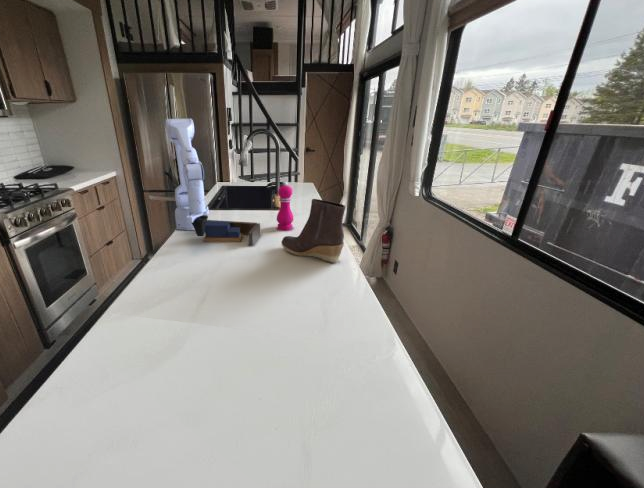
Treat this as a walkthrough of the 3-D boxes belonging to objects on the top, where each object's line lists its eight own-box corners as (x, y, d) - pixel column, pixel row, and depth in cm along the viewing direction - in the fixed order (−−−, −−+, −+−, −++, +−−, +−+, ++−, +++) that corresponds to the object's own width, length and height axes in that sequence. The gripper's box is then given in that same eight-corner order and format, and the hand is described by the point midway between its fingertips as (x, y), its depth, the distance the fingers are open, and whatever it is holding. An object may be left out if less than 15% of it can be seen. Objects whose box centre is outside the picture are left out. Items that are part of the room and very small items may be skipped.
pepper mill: (274, 230, 138) (274, 183, 129) (279, 225, 144) (279, 179, 136) (291, 231, 136) (291, 183, 127) (295, 226, 142) (295, 180, 134)
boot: (289, 243, 124) (290, 191, 116) (347, 258, 111) (353, 200, 102) (276, 250, 118) (276, 195, 109) (336, 267, 105) (341, 206, 96)
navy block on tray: (190, 241, 128) (188, 229, 125) (203, 230, 139) (202, 219, 137) (252, 245, 123) (252, 233, 120) (260, 234, 134) (260, 222, 132)
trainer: (204, 241, 127) (202, 225, 124) (207, 236, 133) (206, 221, 130) (239, 241, 127) (239, 225, 124) (241, 236, 132) (241, 221, 129)
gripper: (198, 204, 107) (202, 243, 113) (214, 194, 119) (217, 229, 125) (178, 204, 108) (184, 242, 114) (196, 194, 121) (200, 228, 127)
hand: (200, 235), depth 120 cm, fingers closed
